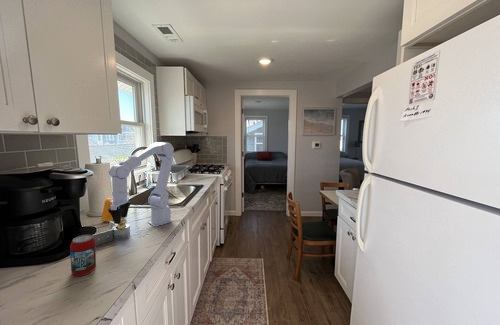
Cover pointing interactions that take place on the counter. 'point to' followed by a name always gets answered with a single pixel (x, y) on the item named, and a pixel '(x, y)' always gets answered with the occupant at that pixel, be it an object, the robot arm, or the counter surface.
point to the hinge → (112, 234)
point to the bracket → (106, 215)
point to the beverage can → (83, 255)
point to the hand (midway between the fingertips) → (120, 220)
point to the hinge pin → (122, 224)
